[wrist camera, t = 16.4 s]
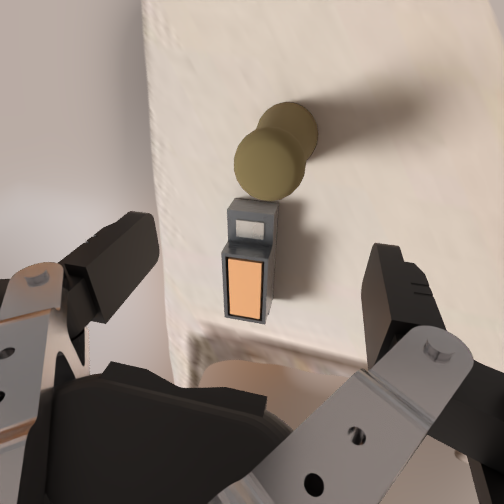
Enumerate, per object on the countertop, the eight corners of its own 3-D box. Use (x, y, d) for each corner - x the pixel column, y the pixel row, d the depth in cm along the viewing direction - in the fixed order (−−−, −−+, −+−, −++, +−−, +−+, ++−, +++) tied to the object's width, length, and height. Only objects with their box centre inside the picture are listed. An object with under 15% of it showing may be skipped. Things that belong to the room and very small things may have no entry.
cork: (243, 132, 31) (205, 165, 22) (291, 86, 28) (269, 103, 19) (282, 178, 32) (261, 227, 23) (331, 140, 29) (328, 180, 20)
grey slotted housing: (234, 198, 35) (219, 220, 30) (278, 202, 34) (269, 226, 29) (236, 293, 42) (224, 321, 38) (272, 299, 41) (264, 329, 37)
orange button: (233, 249, 34) (228, 259, 33) (265, 253, 34) (261, 263, 32) (234, 302, 39) (230, 313, 37) (262, 307, 38) (259, 319, 36)
